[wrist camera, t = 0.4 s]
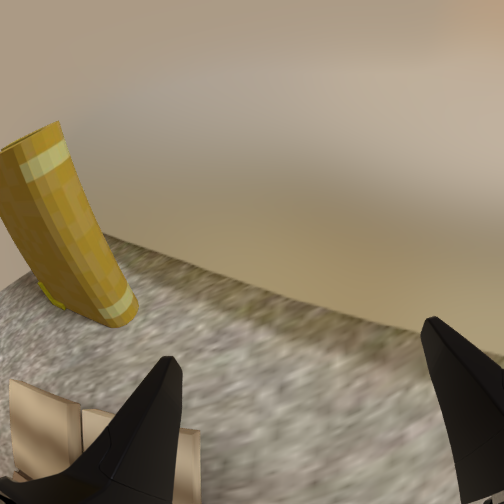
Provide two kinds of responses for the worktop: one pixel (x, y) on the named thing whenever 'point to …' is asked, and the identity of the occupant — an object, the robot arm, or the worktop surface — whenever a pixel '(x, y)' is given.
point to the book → (60, 229)
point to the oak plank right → (186, 461)
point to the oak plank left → (43, 430)
